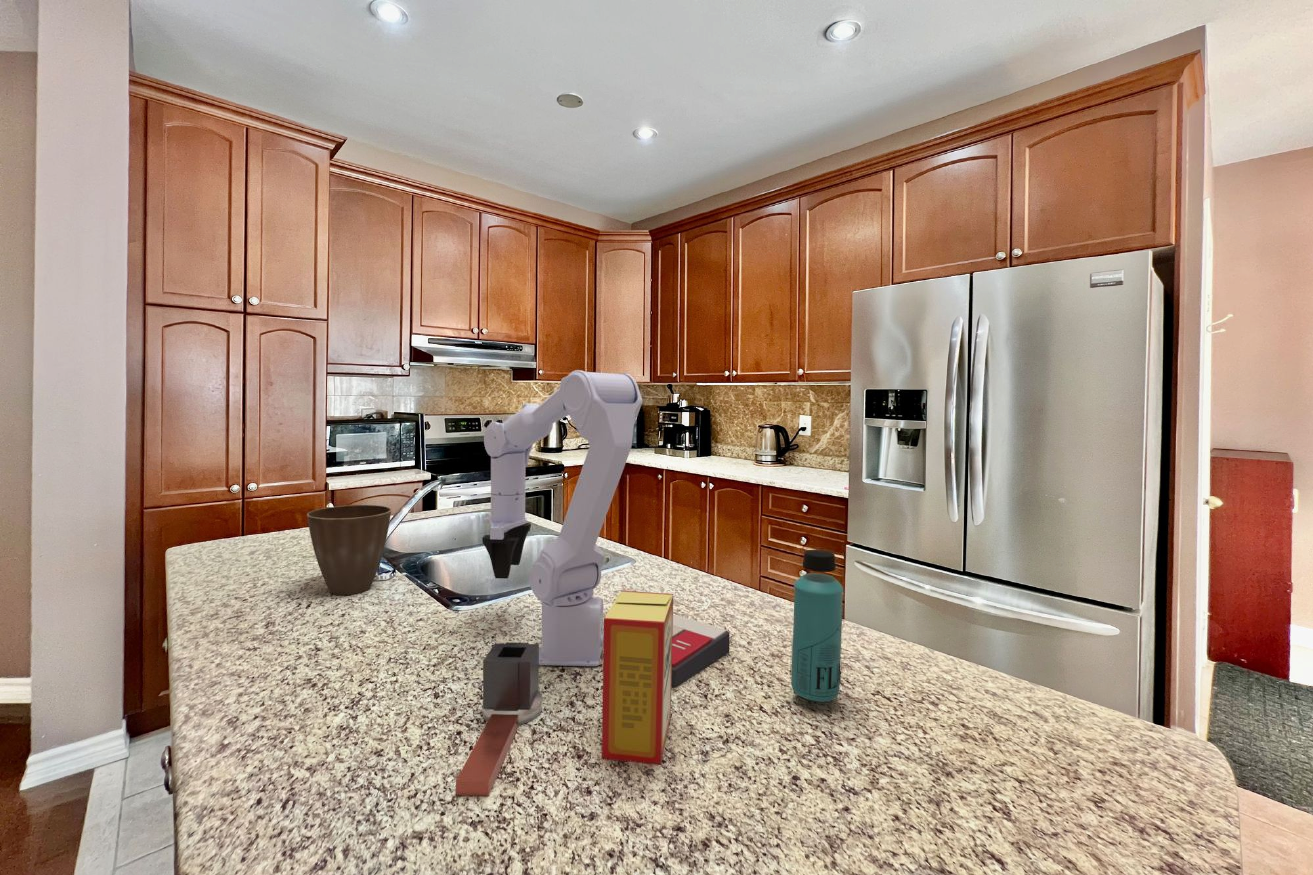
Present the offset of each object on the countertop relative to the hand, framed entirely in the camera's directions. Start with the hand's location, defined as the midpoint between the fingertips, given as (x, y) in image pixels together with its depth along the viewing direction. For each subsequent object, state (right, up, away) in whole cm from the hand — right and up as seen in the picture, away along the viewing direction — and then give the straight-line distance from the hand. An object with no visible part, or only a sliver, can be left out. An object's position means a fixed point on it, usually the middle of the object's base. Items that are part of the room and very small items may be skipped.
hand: (507, 570), depth 99 cm
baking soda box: (+24, -12, -32) cm, 41 cm away
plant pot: (-36, -8, +17) cm, 41 cm away
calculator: (+28, -11, -11) cm, 32 cm away
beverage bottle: (+47, -12, -23) cm, 53 cm away
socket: (+7, -10, -27) cm, 30 cm away
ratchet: (+8, -12, -33) cm, 36 cm away
